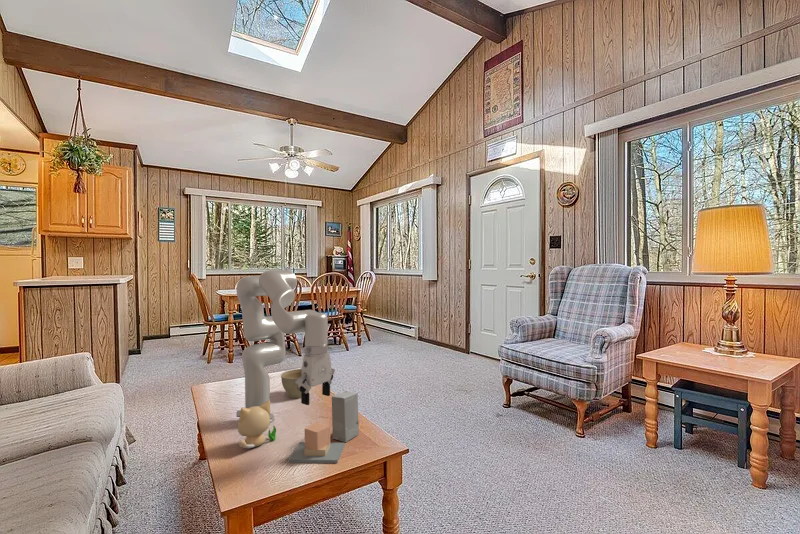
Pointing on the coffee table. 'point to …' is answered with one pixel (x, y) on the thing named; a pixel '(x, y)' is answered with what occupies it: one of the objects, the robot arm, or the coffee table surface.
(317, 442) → the peach cardboard cube
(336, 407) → the skincare box
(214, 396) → the coffee table surface
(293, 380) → the planter bowl
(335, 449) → the post board
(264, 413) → the kitten
